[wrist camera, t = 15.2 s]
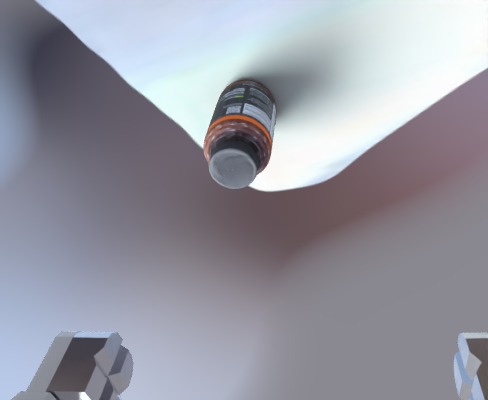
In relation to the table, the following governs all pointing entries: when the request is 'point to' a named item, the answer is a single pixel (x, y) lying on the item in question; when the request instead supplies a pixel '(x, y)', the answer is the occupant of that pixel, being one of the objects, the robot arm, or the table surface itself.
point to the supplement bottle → (240, 134)
